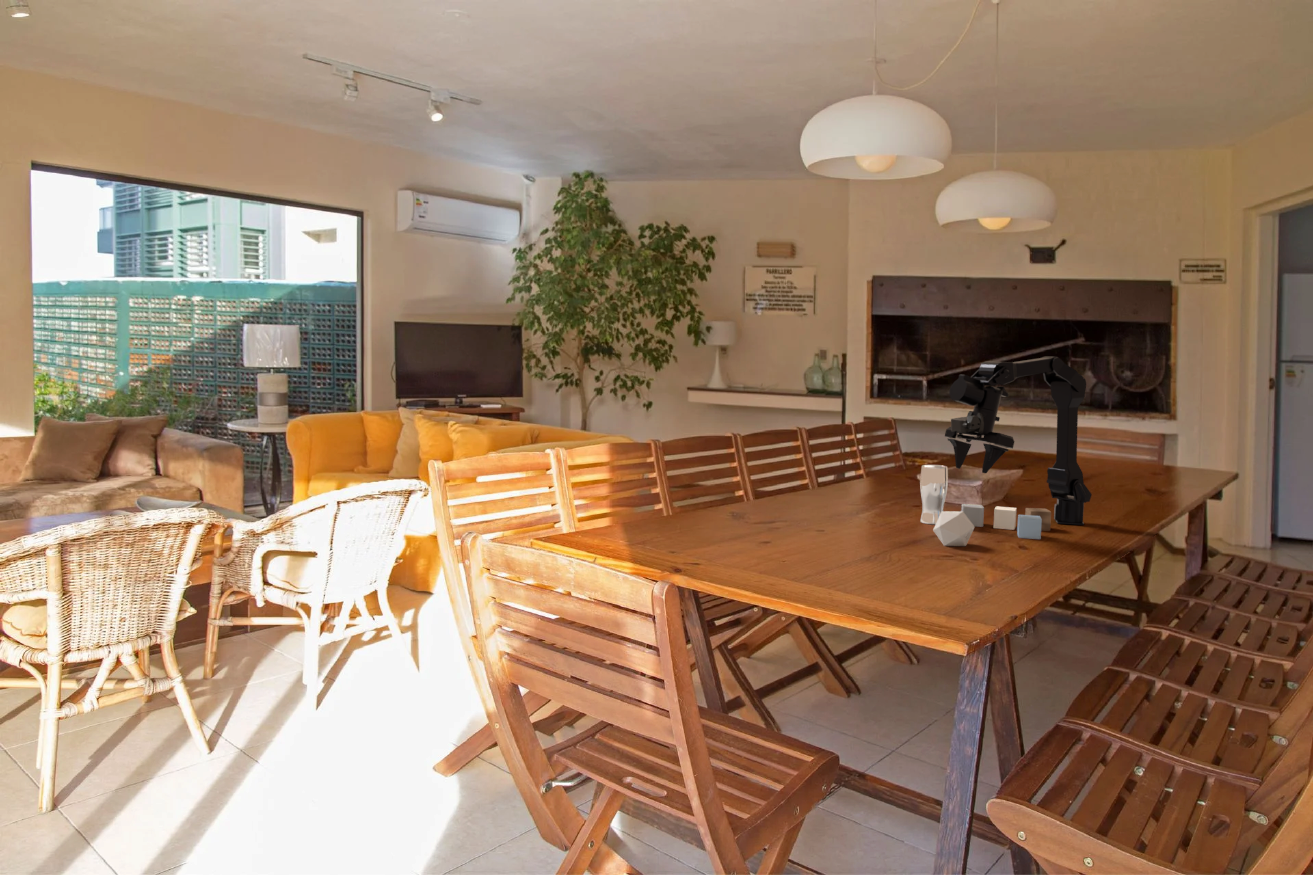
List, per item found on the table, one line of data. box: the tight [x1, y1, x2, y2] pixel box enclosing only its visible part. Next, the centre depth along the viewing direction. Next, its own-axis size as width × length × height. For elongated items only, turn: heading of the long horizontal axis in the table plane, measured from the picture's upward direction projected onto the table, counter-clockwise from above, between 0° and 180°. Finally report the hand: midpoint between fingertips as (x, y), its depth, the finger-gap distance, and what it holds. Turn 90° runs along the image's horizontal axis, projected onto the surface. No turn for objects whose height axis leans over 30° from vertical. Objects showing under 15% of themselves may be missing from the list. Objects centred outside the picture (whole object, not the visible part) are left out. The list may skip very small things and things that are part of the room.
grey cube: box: [960, 503, 985, 528], centre depth 248 cm, size 5×5×5 cm
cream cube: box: [993, 505, 1017, 531], centre depth 245 cm, size 5×5×5 cm
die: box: [932, 510, 975, 547], centre depth 222 cm, size 8×9×10 cm
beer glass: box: [919, 464, 949, 526], centre depth 250 cm, size 7×7×15 cm
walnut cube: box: [1024, 507, 1052, 532], centre depth 244 cm, size 5×5×5 cm
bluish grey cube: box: [1016, 514, 1042, 540], centre depth 233 cm, size 5×5×5 cm
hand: (970, 470), depth 238 cm, fingers open, 9 cm apart
